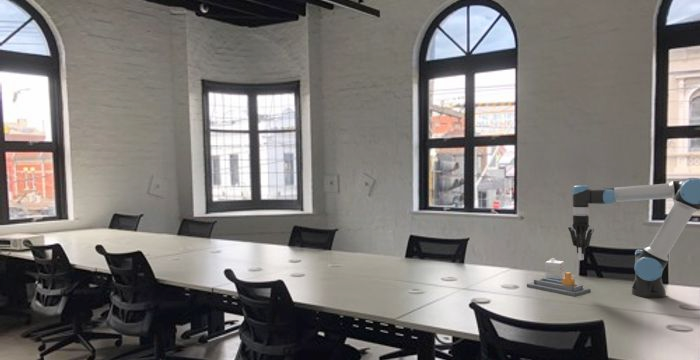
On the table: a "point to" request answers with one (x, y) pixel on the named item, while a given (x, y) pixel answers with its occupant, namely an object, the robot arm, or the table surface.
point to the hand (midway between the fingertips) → (581, 259)
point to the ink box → (554, 269)
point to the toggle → (568, 280)
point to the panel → (558, 287)
